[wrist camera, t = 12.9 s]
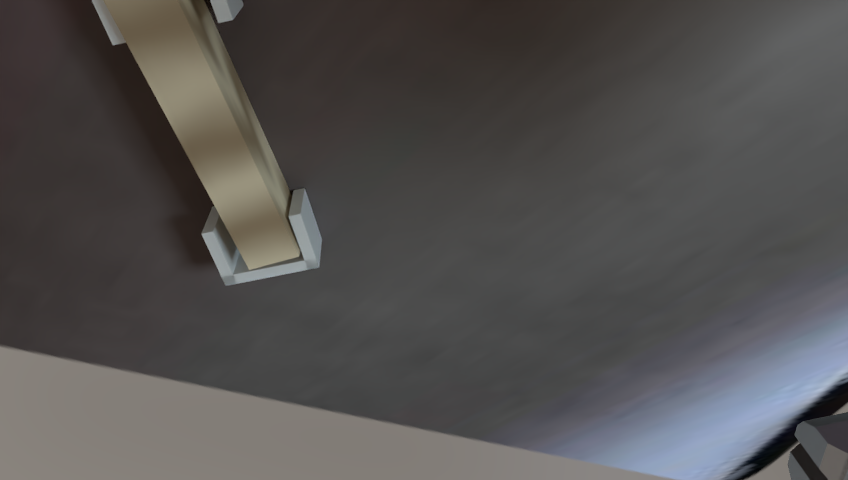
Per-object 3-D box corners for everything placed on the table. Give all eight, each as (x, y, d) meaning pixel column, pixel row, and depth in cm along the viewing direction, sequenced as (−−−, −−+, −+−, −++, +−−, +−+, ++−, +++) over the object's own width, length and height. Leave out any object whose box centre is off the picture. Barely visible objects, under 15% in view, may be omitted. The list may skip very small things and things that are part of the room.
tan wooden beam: (128, -23, 34) (99, -7, 30) (187, -41, 33) (165, -27, 30) (258, 233, 43) (249, 270, 40) (304, 220, 43) (299, 256, 40)
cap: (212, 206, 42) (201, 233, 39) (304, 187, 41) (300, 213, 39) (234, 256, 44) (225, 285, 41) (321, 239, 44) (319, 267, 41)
